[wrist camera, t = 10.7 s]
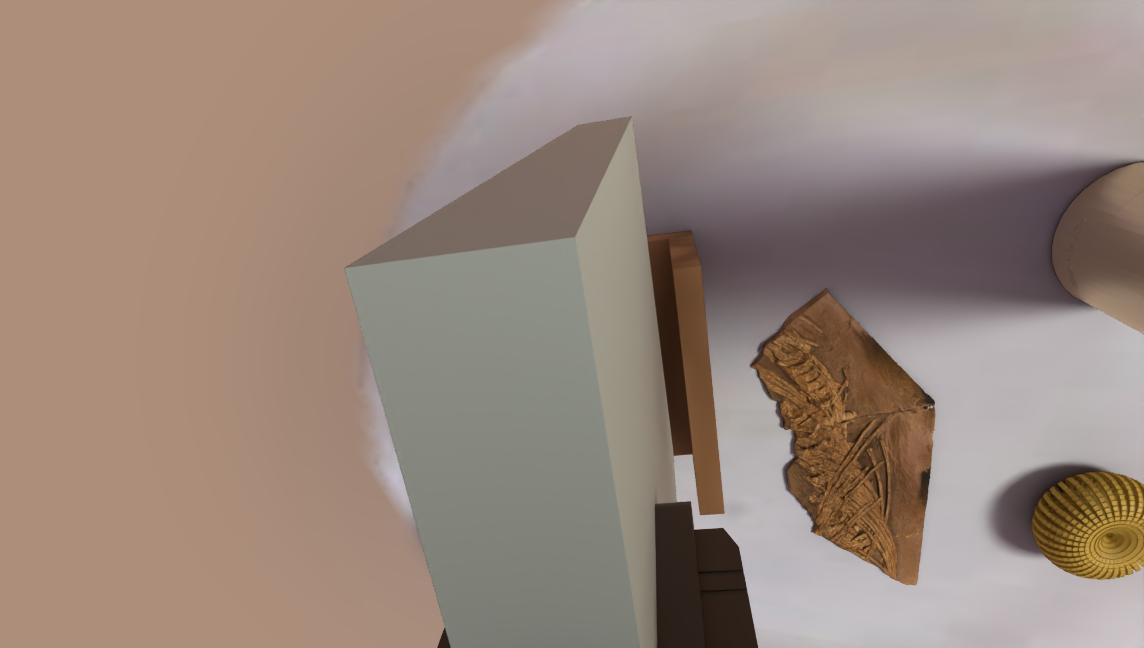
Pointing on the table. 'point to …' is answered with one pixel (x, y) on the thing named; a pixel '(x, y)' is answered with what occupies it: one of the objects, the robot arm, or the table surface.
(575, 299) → the tall board
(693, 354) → the rack
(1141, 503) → the sculpture
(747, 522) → the table surface
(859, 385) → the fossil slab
